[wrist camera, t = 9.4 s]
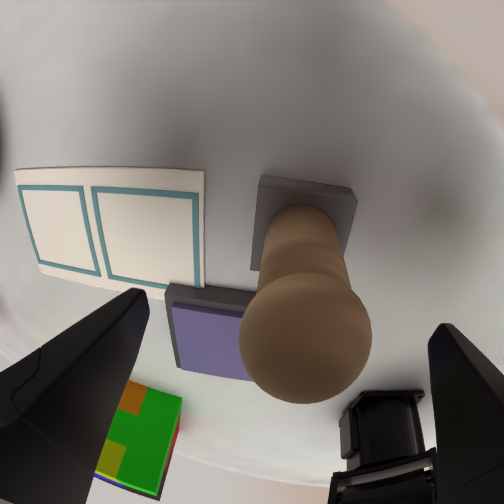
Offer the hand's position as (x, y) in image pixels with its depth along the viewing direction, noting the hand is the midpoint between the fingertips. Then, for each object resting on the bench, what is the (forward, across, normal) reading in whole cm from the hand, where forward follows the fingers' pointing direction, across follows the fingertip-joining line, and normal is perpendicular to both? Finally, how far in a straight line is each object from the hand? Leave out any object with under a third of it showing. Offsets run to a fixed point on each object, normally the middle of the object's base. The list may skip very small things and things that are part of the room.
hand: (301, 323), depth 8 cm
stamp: (+7, 0, 0) cm, 7 cm away
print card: (+6, +11, +2) cm, 13 cm away
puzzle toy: (+7, +13, +23) cm, 27 cm away
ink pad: (+6, +3, +8) cm, 11 cm away
